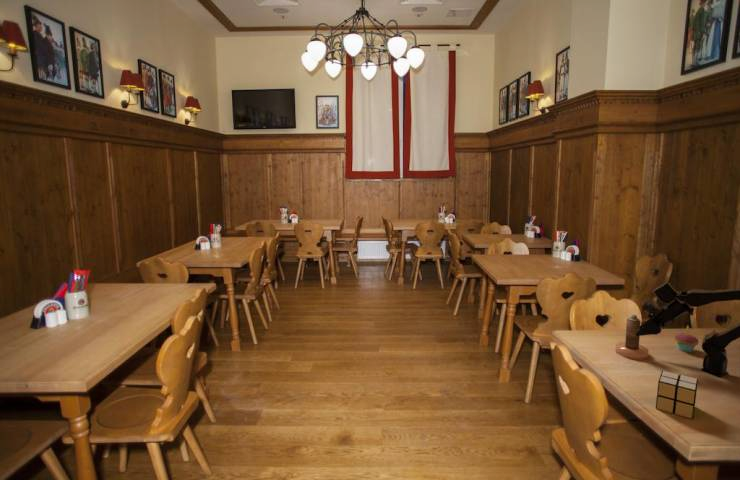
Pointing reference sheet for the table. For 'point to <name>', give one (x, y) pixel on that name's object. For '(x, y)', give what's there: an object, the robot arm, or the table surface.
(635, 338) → the pepper mill
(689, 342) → the cupcake
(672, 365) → the table surface
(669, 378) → the puzzle cube
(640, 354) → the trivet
